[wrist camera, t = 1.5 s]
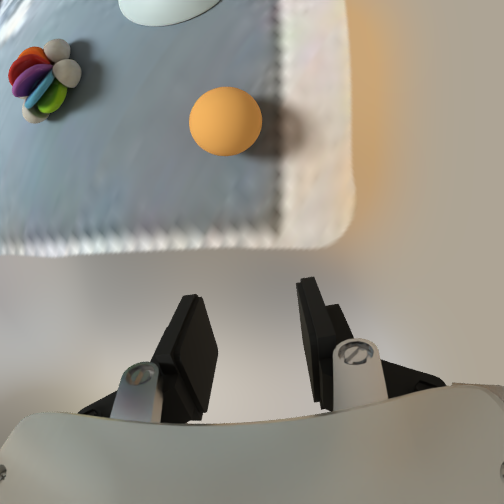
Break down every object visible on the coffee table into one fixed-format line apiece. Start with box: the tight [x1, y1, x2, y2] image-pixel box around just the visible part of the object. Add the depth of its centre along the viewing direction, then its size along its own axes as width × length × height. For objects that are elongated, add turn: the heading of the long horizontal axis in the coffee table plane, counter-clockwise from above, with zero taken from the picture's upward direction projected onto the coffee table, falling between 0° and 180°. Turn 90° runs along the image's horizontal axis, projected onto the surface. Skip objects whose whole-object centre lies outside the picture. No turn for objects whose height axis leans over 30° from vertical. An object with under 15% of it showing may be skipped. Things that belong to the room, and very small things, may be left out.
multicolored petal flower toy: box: [8, 39, 81, 123], centre depth 19 cm, size 8×10×7 cm
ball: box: [189, 87, 262, 156], centre depth 22 cm, size 6×6×6 cm
